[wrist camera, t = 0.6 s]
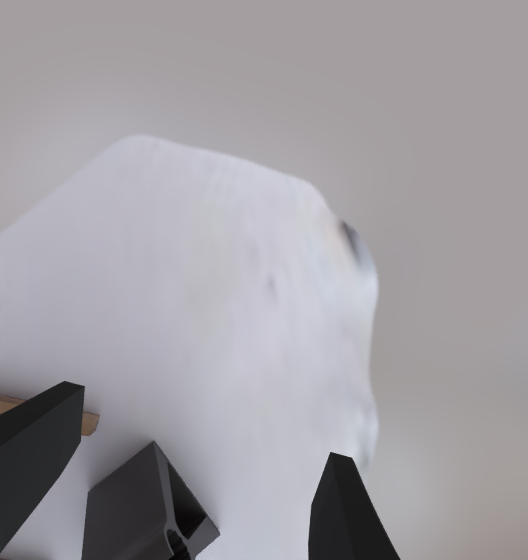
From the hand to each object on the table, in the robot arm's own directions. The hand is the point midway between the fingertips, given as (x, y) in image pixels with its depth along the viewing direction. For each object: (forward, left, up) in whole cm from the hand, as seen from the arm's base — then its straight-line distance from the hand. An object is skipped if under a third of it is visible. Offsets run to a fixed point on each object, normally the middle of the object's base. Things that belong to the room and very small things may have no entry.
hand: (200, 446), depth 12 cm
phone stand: (-11, +1, -24) cm, 26 cm away
